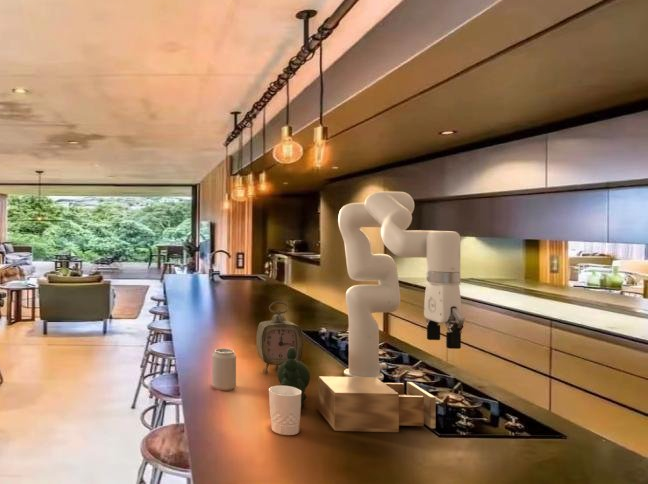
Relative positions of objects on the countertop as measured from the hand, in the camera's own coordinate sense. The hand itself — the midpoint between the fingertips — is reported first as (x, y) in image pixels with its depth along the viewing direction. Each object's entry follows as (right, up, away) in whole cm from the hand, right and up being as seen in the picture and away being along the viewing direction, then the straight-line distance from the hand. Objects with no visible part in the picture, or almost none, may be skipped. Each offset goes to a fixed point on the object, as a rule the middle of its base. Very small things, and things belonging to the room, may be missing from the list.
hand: (443, 343), depth 125 cm
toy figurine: (-35, -21, +15) cm, 43 cm away
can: (-53, -21, +28) cm, 63 cm away
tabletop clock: (-30, -21, +46) cm, 59 cm away
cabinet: (-22, -21, +1) cm, 30 cm away
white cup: (-43, -21, -5) cm, 48 cm away
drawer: (-10, -20, +1) cm, 22 cm away
